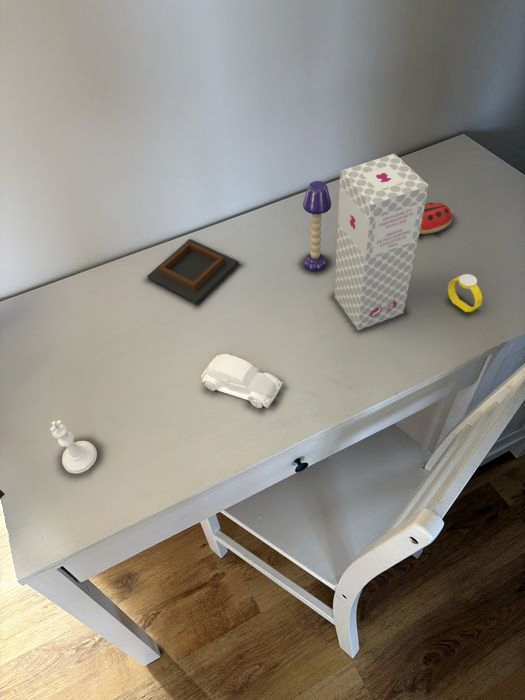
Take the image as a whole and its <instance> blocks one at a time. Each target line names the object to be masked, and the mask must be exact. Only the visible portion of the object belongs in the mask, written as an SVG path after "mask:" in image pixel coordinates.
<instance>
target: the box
mask: <svg viewBox="0 0 525 700" xmlns="http://www.w3.org/2000/svg"><path fill="white" fill-rule="evenodd" d="M429 187H430V185H429V184H428V183H427V182H426V181H425V180H424V179H422V178H421V176H419V175H418V174H417V173H416V172H415V171H414V170H413V169H412V168H411V167H410V166H408V164H406V163H405V162H404V160H402V159H401V158H400V157H399V156H398V155H397V154H396V153H391V154H388V155H384V156H382V157H379V158H376V159H372V160H369V161H365V162H363V163H360V164H357V165H354V166H353V165H352V166H351V167H347V168H344V169H341V170H339V187H338V189H339V190H338V210H337V229H336V230H337V231H336V232H337V233H336V251H335V252H336V254H335V275H334V276H335V278H334V299H335V300H336V302H338V304H339V305H340V307H341V308H342V310H343V311H344V313H345V314H346V315H347V317H348V318H349V320H350V321H351V322H352V324H353V325H354V326H355V328H356V329H357V330H358V331H361V330H364V329H367V328H369V327H371V326H374V325H376V324H379V323H382V322H384V321H386V320H389V319H392V318H395V317H397V316H400V315H402V314H404V312H405V308H406V302H407V297H408V292H409V287H410V282H411V278H412V277H411V276H412V271H413V267H414V263H415V256H416V251H417V247H418V242H419V236H420V234H419V232H420V227H421V222H422V217H423V212H424V207H425V204H426V202H427V196H428V193H429V192H428V191H429Z"/></svg>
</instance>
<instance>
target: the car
mask: <svg viewBox="0 0 525 700" xmlns="http://www.w3.org/2000/svg"><path fill="white" fill-rule="evenodd" d="M259 369H260V368H259V366H257V367H255V366H254V364H251V363H250V362H249V361H247V360H245V359H243V358H241V357H238V356H235V355H233V354H229V353H221V354H217V355H215V357H214V358H213V359H212V360H211V361H210V362H209V364H208V366H207V367H206V368H205V370H204V371H203V372H202V374H201V376H200V379H201V381H200V383H202V384H204V386H205V387H206V388H207V389H208V390H210V391H213V392H214V391H218V392H221V393H225V394H227V395H230V396H233V397H237V398H240V399H243V400H246V401H249V402H250V404H251V405H252V406H254V407H255V408H257V409H262V408H263V407H264V408H266V409H268V408H269V407H270V406H271V404H272V403H273V402H274V400H275V398H276V396H277V395H278V393H279V391H280V390H281V388H282V386H283V381H281V379H279V378H278V377H276V376H275V375H273V374H271V373H269V372H260V371H259Z"/></svg>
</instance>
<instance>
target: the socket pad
mask: <svg viewBox="0 0 525 700" xmlns="http://www.w3.org/2000/svg"><path fill="white" fill-rule="evenodd" d="M239 265H240V264H239V261H238V260H237V259H234V258H232V257H230V256H228V255H225V254H223V253H221V252H219V251H217V250H215V249H213V248H210V247H209V246H206V245H204V244H202V243H200V242H197V241H195V240H193V239H191V238H189V239H188V240H187V241H186V242H184V243H183V244H182V245H181V246H180V247H178V248H177V249H176V250H175V251H174V252H173V253H171V254H170V256H168V257H167V258H166V259H165V260H164V261H163V262H161V263H160V264H159V265H158V266H157V267H156V268H155V269H153V270H152V271H151V272H150V273H149V274H148V275H147V280H148V281H150V282H152V283H154V284H156V285H158V286H160V287H161V288H163V289H166V290H167V291H169V292H171V293H173V294H175V295H176V296H178V297H179V298H182V299H184V300H186V301H188V302H190V303H192V304H193V305H196V306H198V305H199V304H200V303H201V302H202V301H203V300H205V298H206V297H207V296H208V295H210V293H211V292H213V290H215V289H216V288H217V287H218V286H219V285H220V284H221V283H222V282H223V281H224V280H225V279H226V278H227V277H228V276H229V275H230V274H231V273H232V272H233V271H234V270H235V269H237V267H238V266H239Z"/></svg>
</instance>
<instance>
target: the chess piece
mask: <svg viewBox="0 0 525 700" xmlns="http://www.w3.org/2000/svg"><path fill="white" fill-rule="evenodd" d="M50 424H51V425H52V426H51V427H50V428H49V432H51V434H52V436H53V437H54V438H56V439H57V443H58V445H59V446H61V447H66V448H65V450H64V451H63V453H62V457H61V463H62V465H63V467H64V470H66V471H67V472H68V473H71V474H81V473H84V472H86V471H88V470H89V469H91V467H92V466H93V465H94V464H95V462H96V460H97V457H98V451H97V448H96V447H95V445H93V443H91V442H89V441H87V440H78V441H74V440H75V435H74V434H73V433H72V432H69V431H68V427H67V425H66V424H65V423H64V424H63V421H62V420H60V419H58V420H57V421H54V420H53V421H52V422H51V423H50Z"/></svg>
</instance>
